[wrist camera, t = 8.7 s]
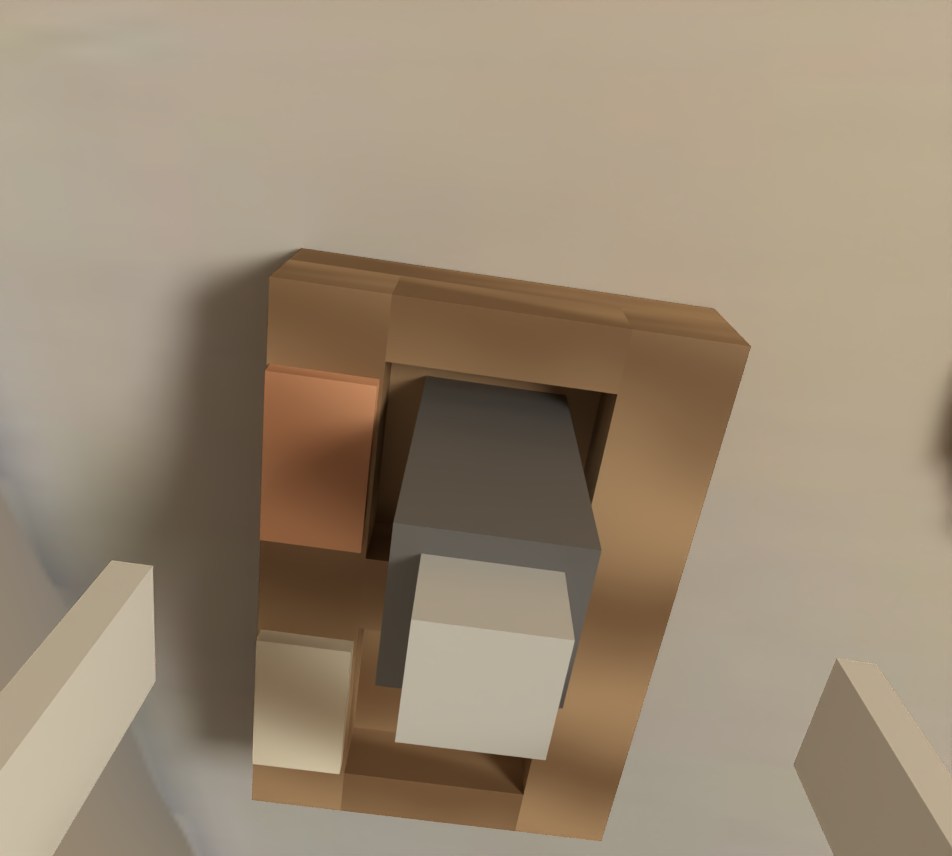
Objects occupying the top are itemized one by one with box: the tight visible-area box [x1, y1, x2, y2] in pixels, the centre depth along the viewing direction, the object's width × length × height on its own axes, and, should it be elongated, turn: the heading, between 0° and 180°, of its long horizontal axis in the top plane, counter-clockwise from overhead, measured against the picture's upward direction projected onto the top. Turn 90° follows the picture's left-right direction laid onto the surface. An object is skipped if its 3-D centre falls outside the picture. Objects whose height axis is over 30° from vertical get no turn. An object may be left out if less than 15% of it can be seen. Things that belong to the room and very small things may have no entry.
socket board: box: [252, 248, 751, 841], centre depth 24 cm, size 18×12×4 cm, turn 172°
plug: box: [375, 376, 602, 760], centre depth 18 cm, size 4×4×10 cm
